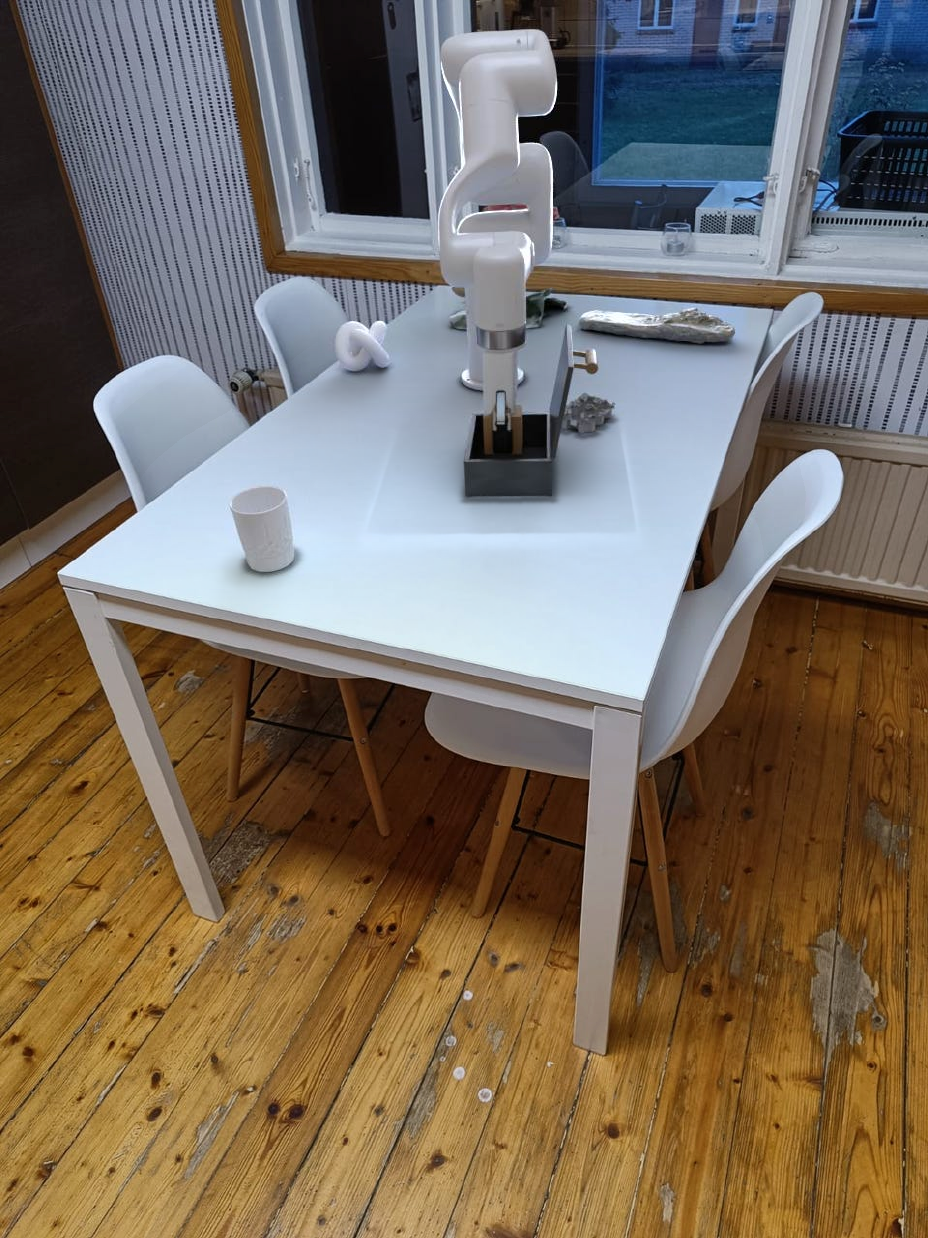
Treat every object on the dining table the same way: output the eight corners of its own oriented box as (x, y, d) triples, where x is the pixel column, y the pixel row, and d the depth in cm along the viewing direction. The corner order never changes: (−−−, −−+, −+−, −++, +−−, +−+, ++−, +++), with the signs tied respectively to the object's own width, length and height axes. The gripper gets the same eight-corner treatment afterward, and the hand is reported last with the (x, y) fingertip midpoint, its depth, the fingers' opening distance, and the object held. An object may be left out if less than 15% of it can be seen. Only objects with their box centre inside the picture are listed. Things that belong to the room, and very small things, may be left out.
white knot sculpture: (359, 352, 192) (354, 312, 187) (406, 358, 188) (402, 317, 182) (332, 370, 184) (325, 328, 179) (380, 377, 180) (375, 334, 174)
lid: (568, 366, 122) (603, 371, 122) (565, 324, 136) (597, 329, 136) (549, 457, 130) (582, 462, 130) (549, 409, 145) (578, 413, 145)
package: (484, 454, 139) (483, 416, 135) (486, 441, 142) (484, 404, 138) (521, 454, 138) (521, 416, 134) (522, 441, 142) (521, 403, 138)
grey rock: (587, 439, 151) (588, 418, 149) (552, 430, 155) (552, 408, 153) (618, 417, 158) (619, 396, 155) (583, 409, 162) (584, 388, 159)
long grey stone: (587, 324, 203) (573, 340, 196) (587, 301, 200) (572, 317, 193) (739, 331, 189) (728, 348, 182) (740, 307, 185) (730, 324, 179)
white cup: (247, 547, 128) (233, 488, 122) (300, 543, 128) (288, 483, 122) (241, 577, 122) (225, 516, 116) (296, 572, 122) (284, 511, 116)
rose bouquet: (465, 296, 221) (458, 166, 203) (574, 304, 212) (577, 168, 194) (423, 328, 203) (412, 189, 185) (541, 339, 193) (541, 193, 175)
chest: (465, 500, 136) (463, 461, 132) (473, 449, 150) (471, 413, 146) (551, 500, 135) (552, 460, 131) (551, 448, 149) (551, 412, 145)
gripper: (479, 315, 136) (483, 422, 147) (472, 356, 123) (477, 470, 134) (526, 314, 135) (527, 422, 146) (524, 355, 122) (525, 470, 133)
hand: (503, 444), depth 140 cm, fingers closed on package, 4 cm apart
